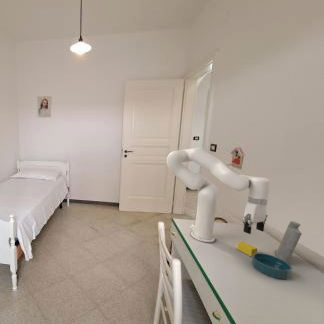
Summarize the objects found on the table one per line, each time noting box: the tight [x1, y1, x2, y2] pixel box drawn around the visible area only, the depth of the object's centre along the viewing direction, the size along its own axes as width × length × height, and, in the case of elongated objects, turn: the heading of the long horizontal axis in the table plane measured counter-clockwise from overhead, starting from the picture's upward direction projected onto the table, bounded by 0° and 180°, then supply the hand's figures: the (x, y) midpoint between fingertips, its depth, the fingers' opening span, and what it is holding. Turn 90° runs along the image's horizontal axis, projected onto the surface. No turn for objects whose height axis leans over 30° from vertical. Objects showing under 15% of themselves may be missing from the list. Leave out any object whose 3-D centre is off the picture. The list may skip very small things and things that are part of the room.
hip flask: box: [275, 220, 303, 264], centre depth 105 cm, size 16×4×20 cm, turn 137°
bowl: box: [251, 252, 292, 280], centre depth 97 cm, size 13×13×4 cm
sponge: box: [236, 241, 258, 257], centre depth 111 cm, size 7×4×4 cm, turn 17°
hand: (253, 231), depth 109 cm, fingers open, 9 cm apart
